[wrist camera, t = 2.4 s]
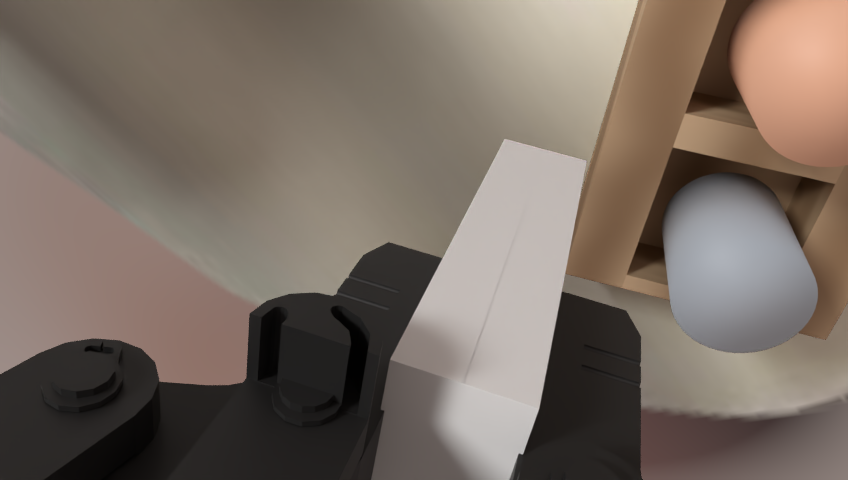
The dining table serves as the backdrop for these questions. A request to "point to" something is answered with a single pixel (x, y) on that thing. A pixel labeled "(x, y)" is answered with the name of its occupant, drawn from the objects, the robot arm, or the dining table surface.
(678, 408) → the dining table surface
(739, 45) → the peach cylinder
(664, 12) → the wooden peg tray
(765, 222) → the blue-grey cylinder
